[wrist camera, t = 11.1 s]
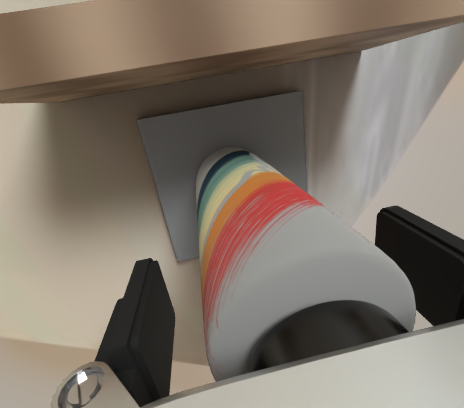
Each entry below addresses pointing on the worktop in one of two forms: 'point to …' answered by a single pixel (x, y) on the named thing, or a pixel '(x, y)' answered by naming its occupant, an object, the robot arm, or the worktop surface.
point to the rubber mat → (211, 140)
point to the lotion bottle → (285, 272)
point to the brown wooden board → (190, 40)
